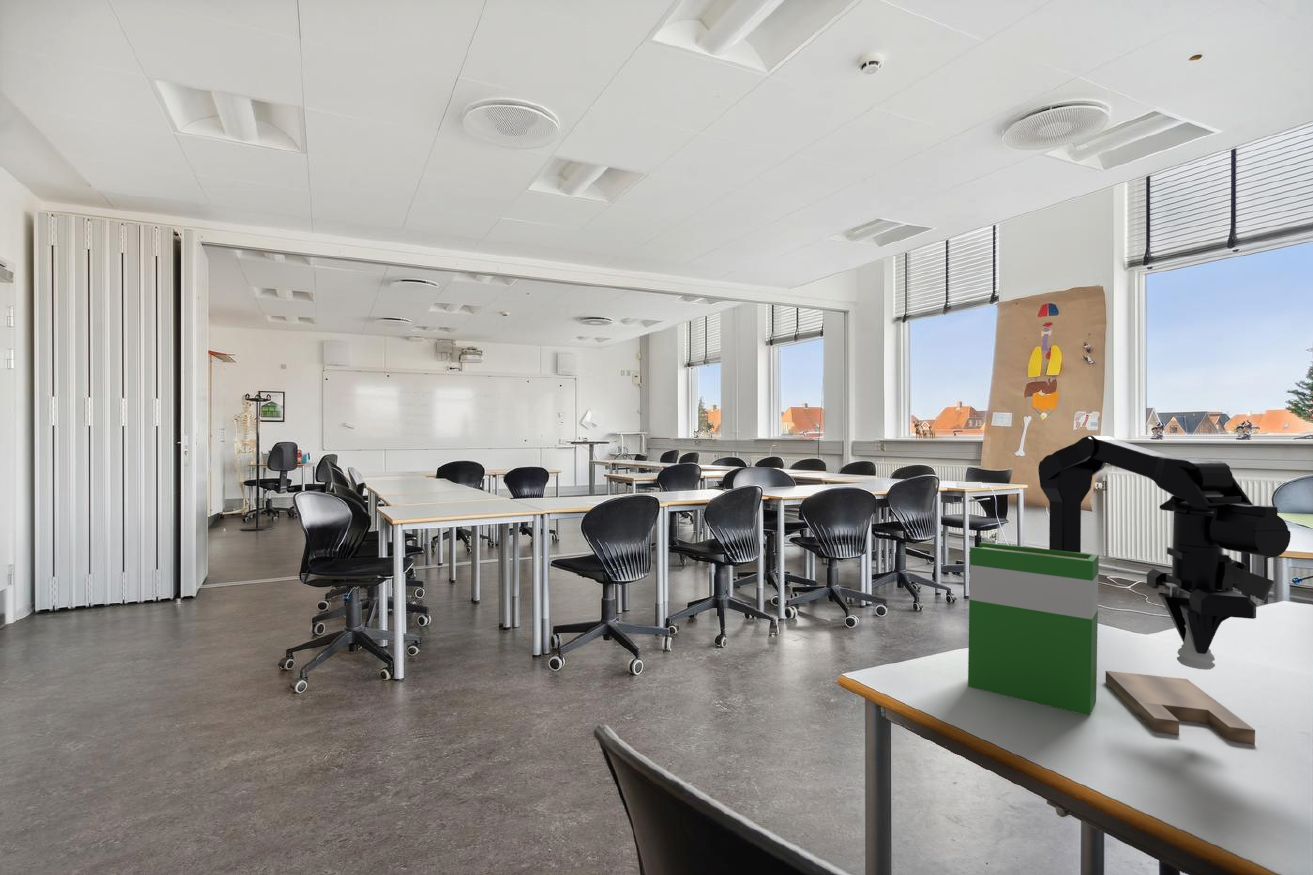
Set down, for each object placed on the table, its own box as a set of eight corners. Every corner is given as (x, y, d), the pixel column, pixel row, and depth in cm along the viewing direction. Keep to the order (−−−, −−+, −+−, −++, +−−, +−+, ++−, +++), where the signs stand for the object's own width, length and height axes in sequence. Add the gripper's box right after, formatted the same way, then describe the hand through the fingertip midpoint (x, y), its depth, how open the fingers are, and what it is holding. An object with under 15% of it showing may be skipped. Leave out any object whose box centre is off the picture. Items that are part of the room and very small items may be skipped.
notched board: (1154, 731, 96) (1154, 718, 96) (1105, 682, 115) (1105, 670, 115) (1254, 743, 92) (1255, 729, 92) (1186, 690, 111) (1187, 678, 111)
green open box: (967, 686, 112) (970, 547, 112) (979, 674, 118) (981, 542, 118) (1090, 716, 101) (1092, 561, 101) (1096, 701, 107) (1098, 554, 106)
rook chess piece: (1200, 660, 99) (1201, 607, 99) (1223, 671, 94) (1224, 616, 94) (1169, 658, 99) (1170, 606, 99) (1190, 669, 95) (1191, 614, 95)
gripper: (1306, 560, 85) (1303, 678, 86) (1229, 537, 103) (1226, 636, 103) (1204, 554, 89) (1201, 668, 89) (1146, 533, 107) (1144, 628, 107)
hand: (1194, 649), depth 97 cm, fingers closed on rook chess piece, 3 cm apart
